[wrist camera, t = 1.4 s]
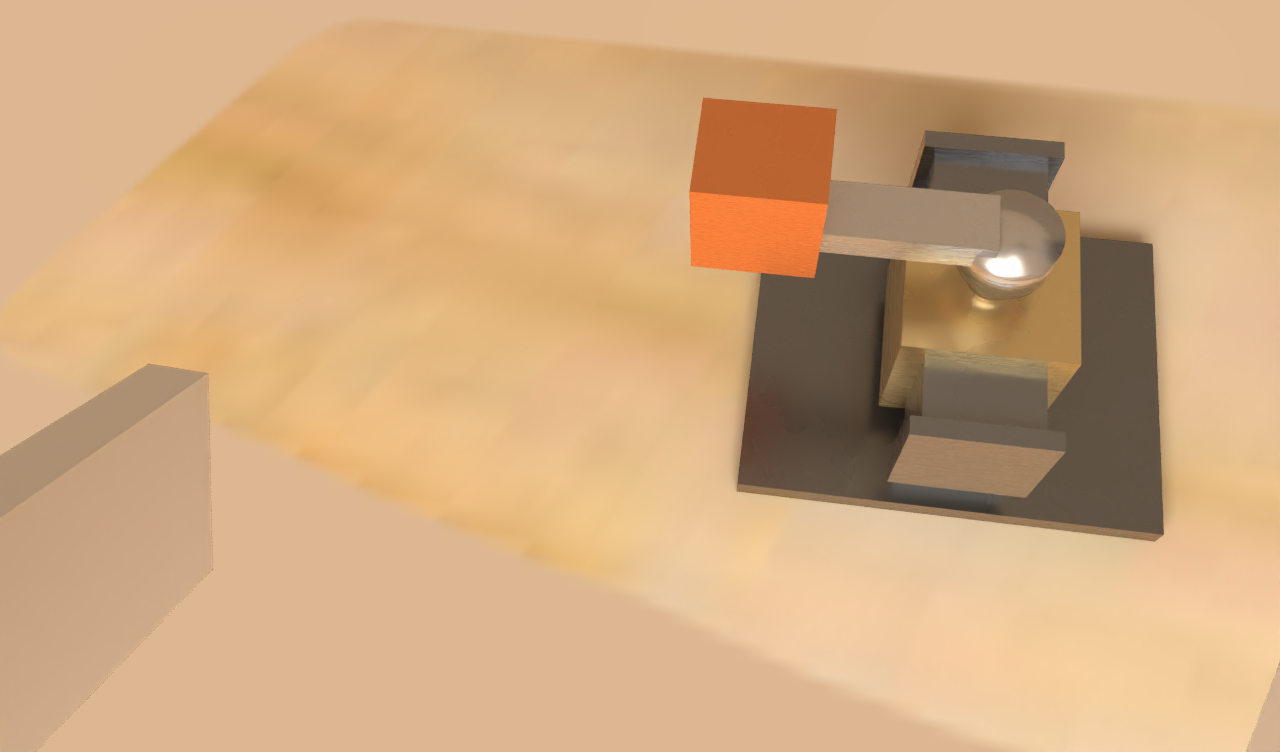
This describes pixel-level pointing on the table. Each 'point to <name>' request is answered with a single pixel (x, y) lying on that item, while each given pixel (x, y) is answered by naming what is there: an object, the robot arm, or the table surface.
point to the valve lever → (848, 207)
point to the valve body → (964, 375)
